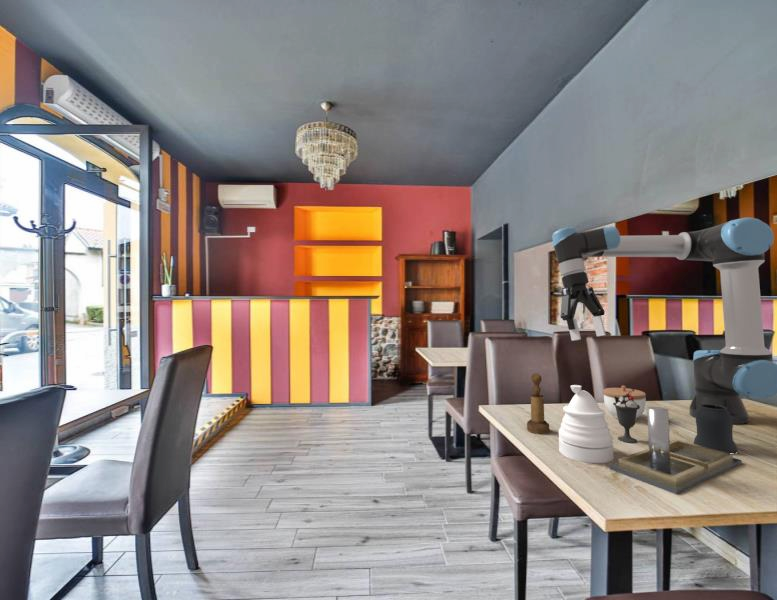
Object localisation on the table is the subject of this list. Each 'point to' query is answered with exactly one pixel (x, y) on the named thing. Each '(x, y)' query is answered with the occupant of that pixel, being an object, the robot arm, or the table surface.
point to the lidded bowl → (618, 392)
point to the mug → (714, 428)
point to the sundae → (626, 415)
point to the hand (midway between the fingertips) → (589, 337)
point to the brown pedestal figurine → (537, 409)
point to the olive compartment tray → (672, 458)
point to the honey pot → (585, 430)
